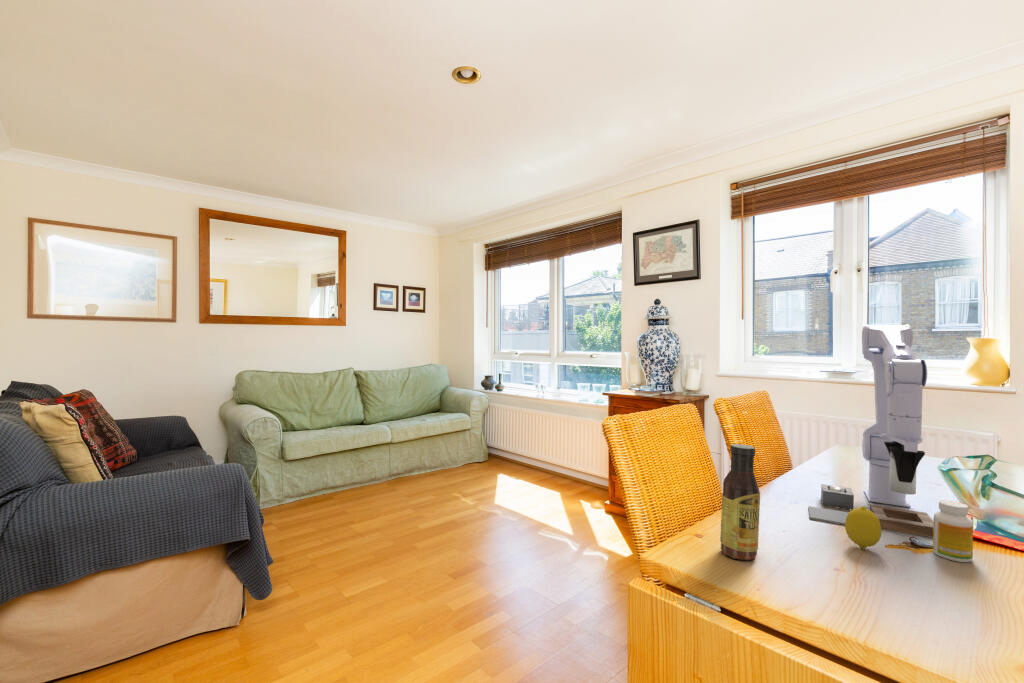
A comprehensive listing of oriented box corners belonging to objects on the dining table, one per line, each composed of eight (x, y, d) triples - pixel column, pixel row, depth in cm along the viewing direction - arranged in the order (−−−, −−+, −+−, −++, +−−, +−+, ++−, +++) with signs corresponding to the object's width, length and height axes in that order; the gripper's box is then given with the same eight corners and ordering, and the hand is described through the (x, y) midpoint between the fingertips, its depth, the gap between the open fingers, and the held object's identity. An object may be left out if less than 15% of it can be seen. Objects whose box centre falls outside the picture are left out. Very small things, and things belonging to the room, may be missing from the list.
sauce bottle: (742, 565, 84) (744, 451, 83) (712, 550, 89) (714, 444, 89) (766, 557, 87) (768, 448, 86) (736, 544, 92) (738, 441, 92)
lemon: (874, 545, 93) (875, 503, 93) (885, 557, 87) (886, 513, 87) (840, 540, 94) (841, 500, 94) (850, 552, 89) (851, 509, 89)
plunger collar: (821, 498, 119) (821, 484, 119) (850, 502, 116) (850, 488, 116) (822, 505, 114) (823, 490, 114) (853, 510, 111) (853, 495, 111)
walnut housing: (869, 512, 110) (869, 504, 110) (926, 521, 105) (926, 512, 105) (876, 527, 101) (876, 518, 101) (938, 538, 96) (939, 528, 96)
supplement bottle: (980, 564, 85) (981, 510, 85) (945, 561, 86) (946, 507, 86) (958, 551, 90) (960, 499, 90) (925, 548, 92) (927, 497, 91)
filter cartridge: (887, 486, 106) (888, 450, 106) (913, 490, 104) (914, 453, 104) (891, 492, 102) (892, 454, 102) (918, 495, 100) (919, 457, 100)
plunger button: (828, 497, 117) (829, 485, 117) (843, 499, 116) (844, 487, 116) (829, 501, 115) (830, 488, 115) (845, 503, 113) (845, 490, 113)
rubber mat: (808, 508, 112) (808, 506, 112) (850, 515, 108) (850, 512, 108) (810, 519, 105) (810, 517, 105) (854, 527, 101) (854, 524, 101)
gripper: (875, 409, 111) (874, 468, 111) (886, 418, 98) (885, 484, 99) (914, 412, 107) (913, 472, 108) (931, 422, 95) (930, 490, 95)
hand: (902, 478), depth 103 cm, fingers closed on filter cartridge, 4 cm apart
